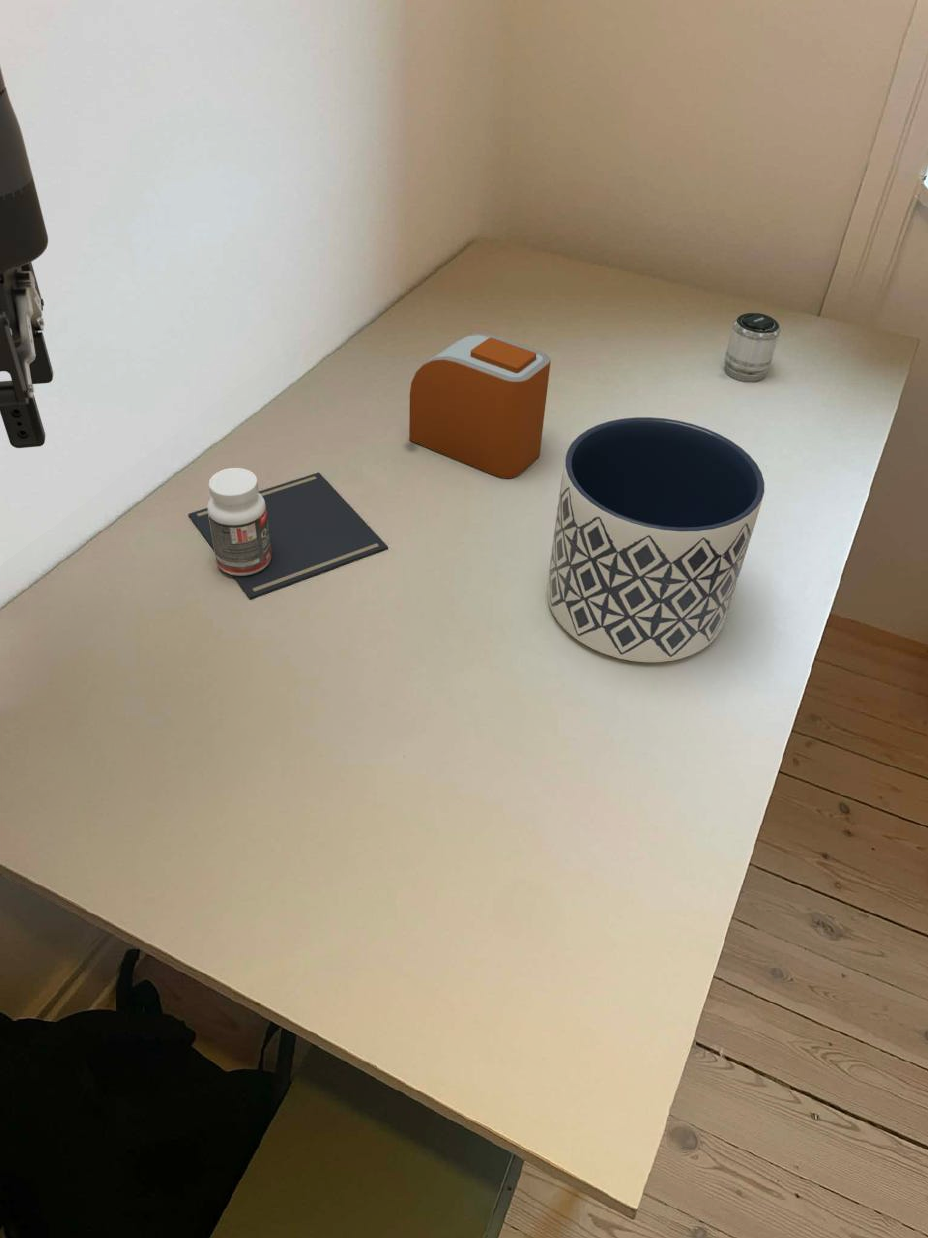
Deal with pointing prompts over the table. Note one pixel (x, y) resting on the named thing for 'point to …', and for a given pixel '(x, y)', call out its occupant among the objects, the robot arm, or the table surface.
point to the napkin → (304, 534)
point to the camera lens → (751, 346)
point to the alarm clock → (482, 404)
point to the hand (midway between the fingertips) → (34, 411)
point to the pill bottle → (238, 522)
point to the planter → (651, 536)
